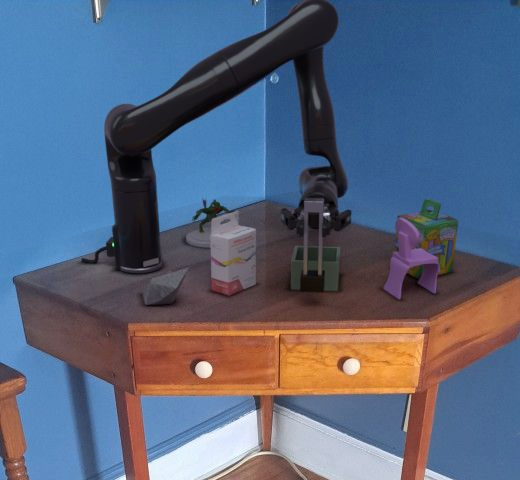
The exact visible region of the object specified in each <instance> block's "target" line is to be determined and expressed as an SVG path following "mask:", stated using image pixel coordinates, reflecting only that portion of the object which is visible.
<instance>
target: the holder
mask: <svg viewBox="0 0 520 480" xmlns="http://www.w3.org/2000/svg"><path fill="white" fill-rule="evenodd" d="M318 246H319V245H316V246H315V245H314V246H313V245H308V270H318ZM341 251H342V247H341V246H323V260H322V270H323V271H325V287H324V292H338V291H339V284H340V271H341ZM303 260H304V245H295V246H294V248H293V253H292V256H291V259H290V289H291V290H298V291H300V276H301V271H302V270H303Z"/></svg>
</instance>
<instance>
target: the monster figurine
mask: <svg viewBox="0 0 520 480" xmlns="http://www.w3.org/2000/svg"><path fill="white" fill-rule="evenodd" d="M202 205H203V207H202V208H199V209H196V211H195V215H194V216H193V215H192V219H191V220H192V222H195V221H196V220H198V219H199V217H200V216H201V215H202V214H205V215H206V216H205V218H204V219H203V220H201V222H200V223H199V227H198V229H195V230H192V231H190V232H188V233H186V236H185V241H186V243H187V244H188V245H191V246H194V247H197V248H209V249H211V244H210V235H211V227H203V226H205V224H207V223H211V221H212V219H213V218H217V217H218V216H217V215H219V214H220V213H222V212H225V213H226V214H229V213H232V212H235V211H236V210H229V209H228V207H226V206H224V205H221V203H220V202H219V201H217V199H216V198H215V199H213V200H212V201H211V202H210V205H209V206H208V207H207V199H204V197H202ZM220 224H222V222H221V223H220Z"/></svg>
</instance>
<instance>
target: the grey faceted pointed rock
mask: <svg viewBox="0 0 520 480" xmlns="http://www.w3.org/2000/svg"><path fill="white" fill-rule="evenodd" d="M189 269H190V267H186V268H181V269H179V270H176V271H173V270H169V271H166V273H165V274H163V275H159V276H156V277H153V278H151V279H150V280H149V283H148V284H147V286H146V287H145V289H144V292H143V293H142V296H143V301H144V305H145V306H154V305H155V306H156V305H170V304H172V303H173V302H174V301H175V298H176V297H177V294H178V292H179V290H180V288H181V286H182V284H183V281H184V279H186V278H185V277H186V275H187V273H188V272H189Z"/></svg>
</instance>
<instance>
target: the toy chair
mask: <svg viewBox="0 0 520 480" xmlns="http://www.w3.org/2000/svg"><path fill="white" fill-rule="evenodd" d="M394 229H395V233H396V232H397V233H398V243H399V251H397V252H394V251H392V256H391V258H390V260H389V261H390V262H389V275H388V278H387V281H386V282H385V284H384V286H383V288H382V289H383V290H384V291H386V292H387V293H388V294H390V295H391V296H393V297H394V298H396V299H397V300H401V299H402V289H403V281H404V279H405V276H406V275H407V271H408V270H409V269H410V268H411V267H413V266H418V265H421V264H423V265H424V270H423V273H422V276H421V278H420V280H419V279H418V281H417V284H418V285H420V286H421V287H423V288H424V289H426V290H427V291H429V292H431V293H432V294H434V295H435V294H437V282H438V276H439V275H438V270H439V263H438V258H437V257H436V256H434V255H431V254H429V253H428V252H426V251H425V250H423V249H422V248H418V249H413V248H415V247H417V246H418V245H419V239H420V236H419V232H418V230H417V229H416V228H415V226H414V225H413V224H412V223H410V222H409V221H408V220H406V219H404V218H402V217H401V218H398V219H396V221H395V223H394ZM412 249H413V250H412ZM437 275H438V276H437Z"/></svg>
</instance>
